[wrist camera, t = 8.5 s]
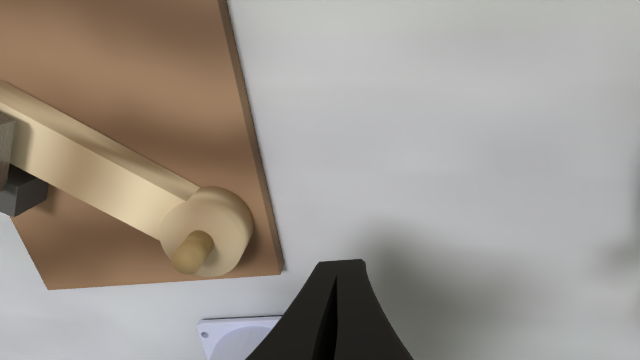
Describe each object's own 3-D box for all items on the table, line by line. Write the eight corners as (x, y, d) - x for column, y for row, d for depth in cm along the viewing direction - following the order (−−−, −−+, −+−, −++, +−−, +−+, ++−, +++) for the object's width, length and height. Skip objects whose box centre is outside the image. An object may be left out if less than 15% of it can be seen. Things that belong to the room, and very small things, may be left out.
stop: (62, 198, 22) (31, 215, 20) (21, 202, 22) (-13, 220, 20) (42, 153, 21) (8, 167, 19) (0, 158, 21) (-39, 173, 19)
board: (284, 262, 23) (280, 274, 22) (61, 278, 26) (47, 290, 24) (210, -70, 17) (199, -76, 16) (-80, -7, 19) (-107, -9, 18)
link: (266, 211, 20) (246, 251, 17) (234, 265, 22) (209, 313, 18) (4, 67, 19) (-82, 77, 15) (-9, 138, 20) (-90, 163, 17)
